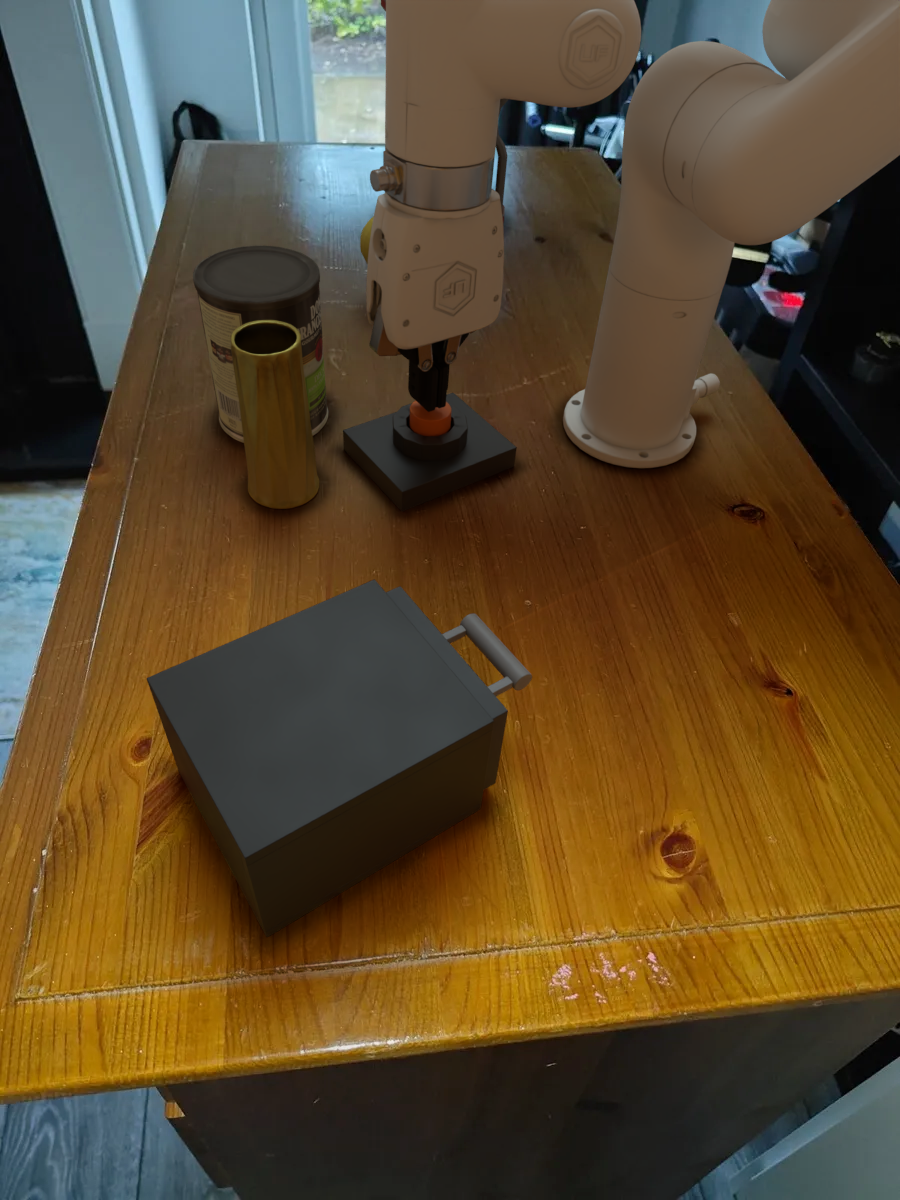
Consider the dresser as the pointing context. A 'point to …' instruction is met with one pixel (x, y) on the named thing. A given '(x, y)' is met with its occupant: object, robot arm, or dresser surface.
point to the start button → (430, 420)
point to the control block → (428, 454)
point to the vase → (274, 414)
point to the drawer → (492, 651)
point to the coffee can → (260, 318)
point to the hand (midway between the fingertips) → (427, 401)
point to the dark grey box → (323, 748)
